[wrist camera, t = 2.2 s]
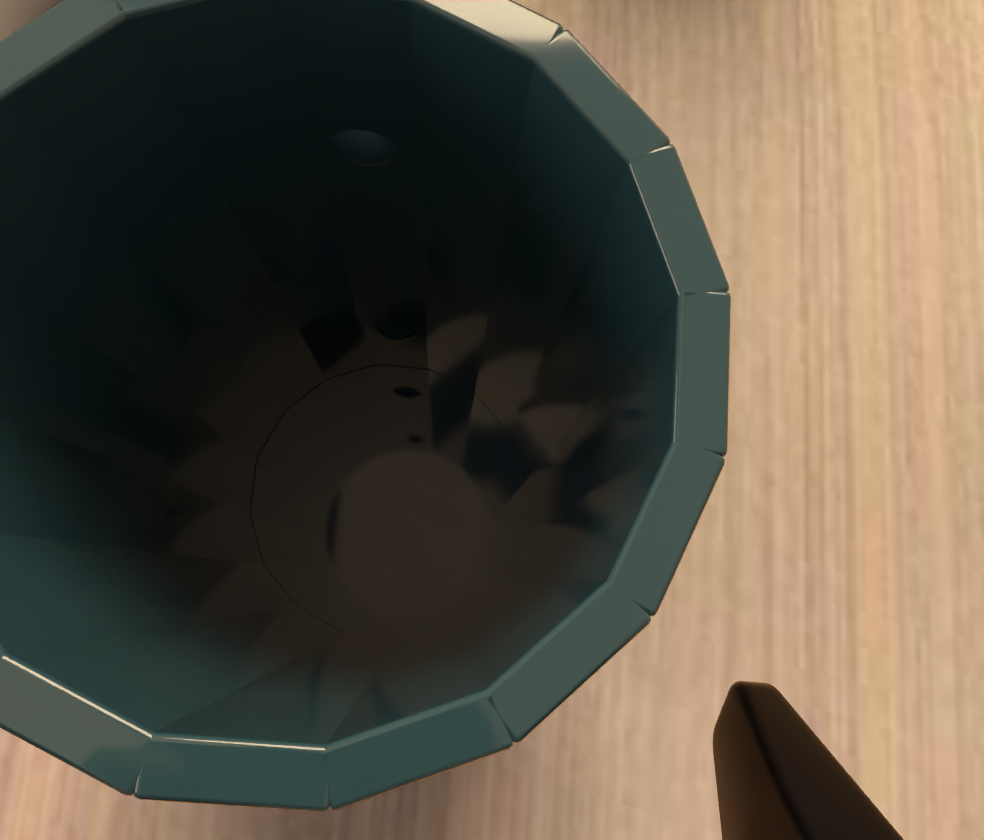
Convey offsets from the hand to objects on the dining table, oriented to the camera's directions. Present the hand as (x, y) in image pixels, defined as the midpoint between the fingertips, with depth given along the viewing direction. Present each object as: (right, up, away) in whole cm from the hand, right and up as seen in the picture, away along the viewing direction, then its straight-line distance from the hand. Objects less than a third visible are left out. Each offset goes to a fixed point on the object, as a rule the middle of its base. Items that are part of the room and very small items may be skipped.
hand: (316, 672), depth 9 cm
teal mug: (0, +3, +11) cm, 11 cm away
